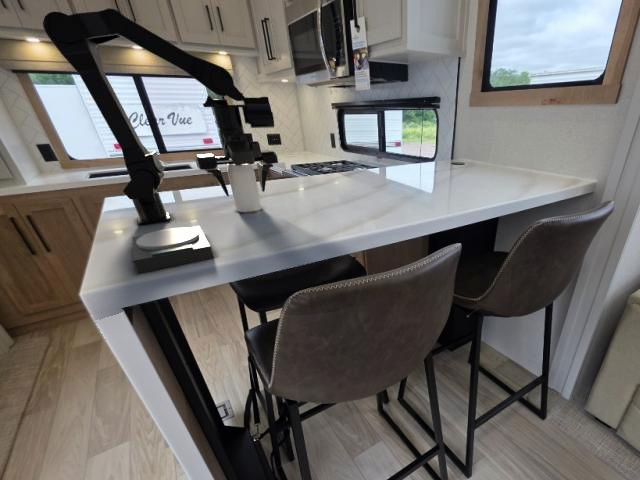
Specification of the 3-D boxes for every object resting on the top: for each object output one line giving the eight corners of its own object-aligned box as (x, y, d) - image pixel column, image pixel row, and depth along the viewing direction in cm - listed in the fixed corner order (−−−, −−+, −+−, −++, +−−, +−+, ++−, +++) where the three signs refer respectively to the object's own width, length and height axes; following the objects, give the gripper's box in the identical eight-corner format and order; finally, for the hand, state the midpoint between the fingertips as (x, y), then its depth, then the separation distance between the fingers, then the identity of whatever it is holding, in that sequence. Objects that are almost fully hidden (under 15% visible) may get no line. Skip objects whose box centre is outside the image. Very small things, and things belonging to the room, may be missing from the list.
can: (267, 208, 92) (258, 163, 86) (247, 214, 87) (236, 166, 81) (251, 205, 95) (241, 160, 89) (231, 210, 90) (220, 163, 84)
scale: (136, 248, 67) (130, 233, 65) (202, 236, 73) (198, 222, 71) (138, 273, 57) (131, 256, 56) (214, 257, 63) (209, 242, 62)
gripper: (192, 132, 70) (213, 205, 79) (279, 129, 80) (290, 194, 88) (186, 129, 78) (205, 196, 86) (265, 126, 88) (276, 187, 96)
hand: (245, 193), depth 89 cm, fingers open, 9 cm apart
